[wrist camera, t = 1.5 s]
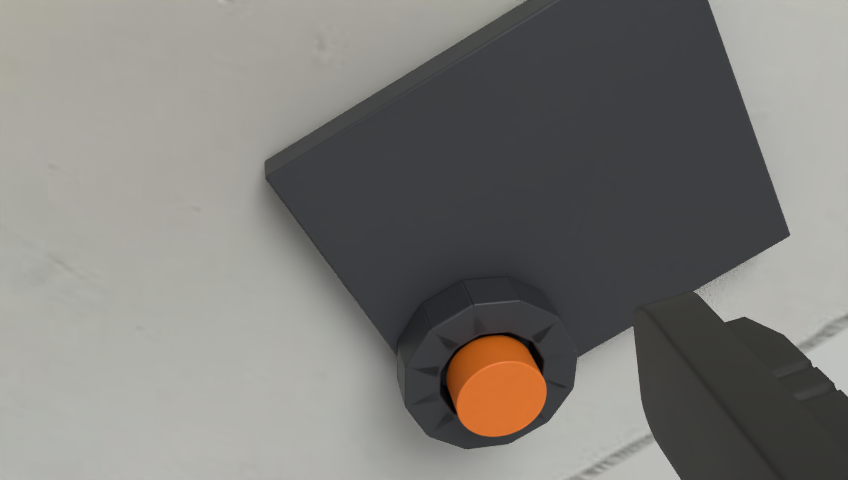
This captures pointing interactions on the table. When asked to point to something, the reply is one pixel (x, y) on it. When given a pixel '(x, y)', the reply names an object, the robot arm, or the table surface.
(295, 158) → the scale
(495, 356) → the button
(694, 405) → the robot arm
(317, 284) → the table surface
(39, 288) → the table surface
